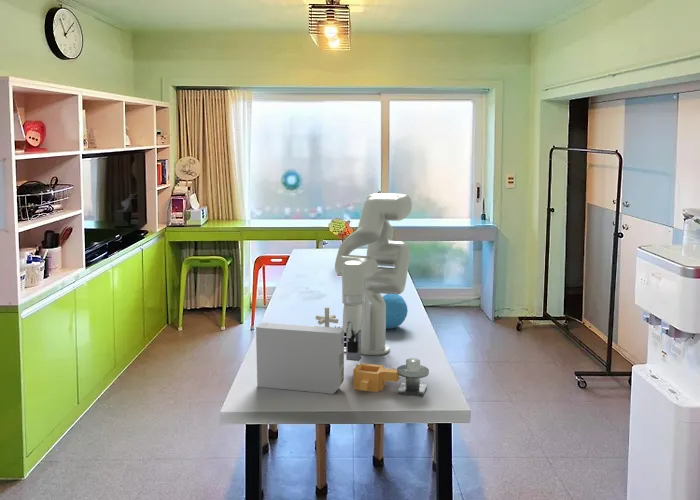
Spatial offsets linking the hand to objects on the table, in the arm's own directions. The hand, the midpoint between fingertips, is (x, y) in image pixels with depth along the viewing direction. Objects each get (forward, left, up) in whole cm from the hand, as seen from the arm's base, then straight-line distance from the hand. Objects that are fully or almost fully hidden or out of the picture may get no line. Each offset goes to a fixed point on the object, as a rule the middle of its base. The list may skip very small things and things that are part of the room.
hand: (353, 350), depth 234 cm
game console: (+18, -13, -8) cm, 23 cm away
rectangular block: (0, 0, -3) cm, 3 cm away
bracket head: (+13, +10, -8) cm, 18 cm away
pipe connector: (-42, -22, -8) cm, 48 cm away
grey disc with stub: (+11, +22, -8) cm, 26 cm away
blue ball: (-54, 0, -8) cm, 55 cm away
